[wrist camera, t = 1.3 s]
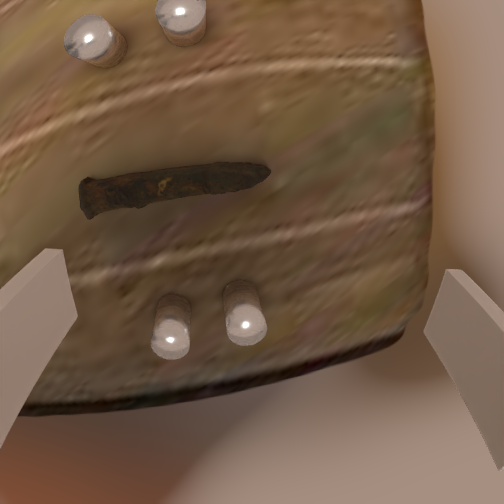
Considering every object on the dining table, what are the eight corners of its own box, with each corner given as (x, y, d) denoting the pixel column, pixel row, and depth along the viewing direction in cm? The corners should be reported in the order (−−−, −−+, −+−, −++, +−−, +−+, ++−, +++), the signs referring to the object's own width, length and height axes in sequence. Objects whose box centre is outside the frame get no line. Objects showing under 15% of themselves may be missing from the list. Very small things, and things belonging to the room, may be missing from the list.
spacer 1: (93, 73, 26) (66, 64, 20) (88, 40, 24) (62, 24, 18) (129, 61, 26) (110, 48, 20) (124, 27, 24) (105, 7, 18)
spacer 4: (226, 311, 39) (231, 349, 32) (219, 283, 37) (223, 318, 31) (259, 304, 39) (269, 340, 33) (253, 276, 37) (263, 309, 31)
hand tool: (93, 211, 32) (78, 225, 28) (87, 175, 30) (71, 185, 26) (267, 193, 34) (276, 205, 30) (266, 156, 32) (275, 162, 28)
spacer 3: (163, 324, 38) (158, 362, 32) (153, 297, 37) (145, 333, 30) (194, 318, 39) (194, 356, 32) (185, 290, 37) (183, 326, 31)
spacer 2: (168, 50, 26) (158, 33, 20) (162, 17, 25) (152, -7, 18) (208, 42, 26) (209, 23, 20) (202, 8, 25) (202, -17, 18)
